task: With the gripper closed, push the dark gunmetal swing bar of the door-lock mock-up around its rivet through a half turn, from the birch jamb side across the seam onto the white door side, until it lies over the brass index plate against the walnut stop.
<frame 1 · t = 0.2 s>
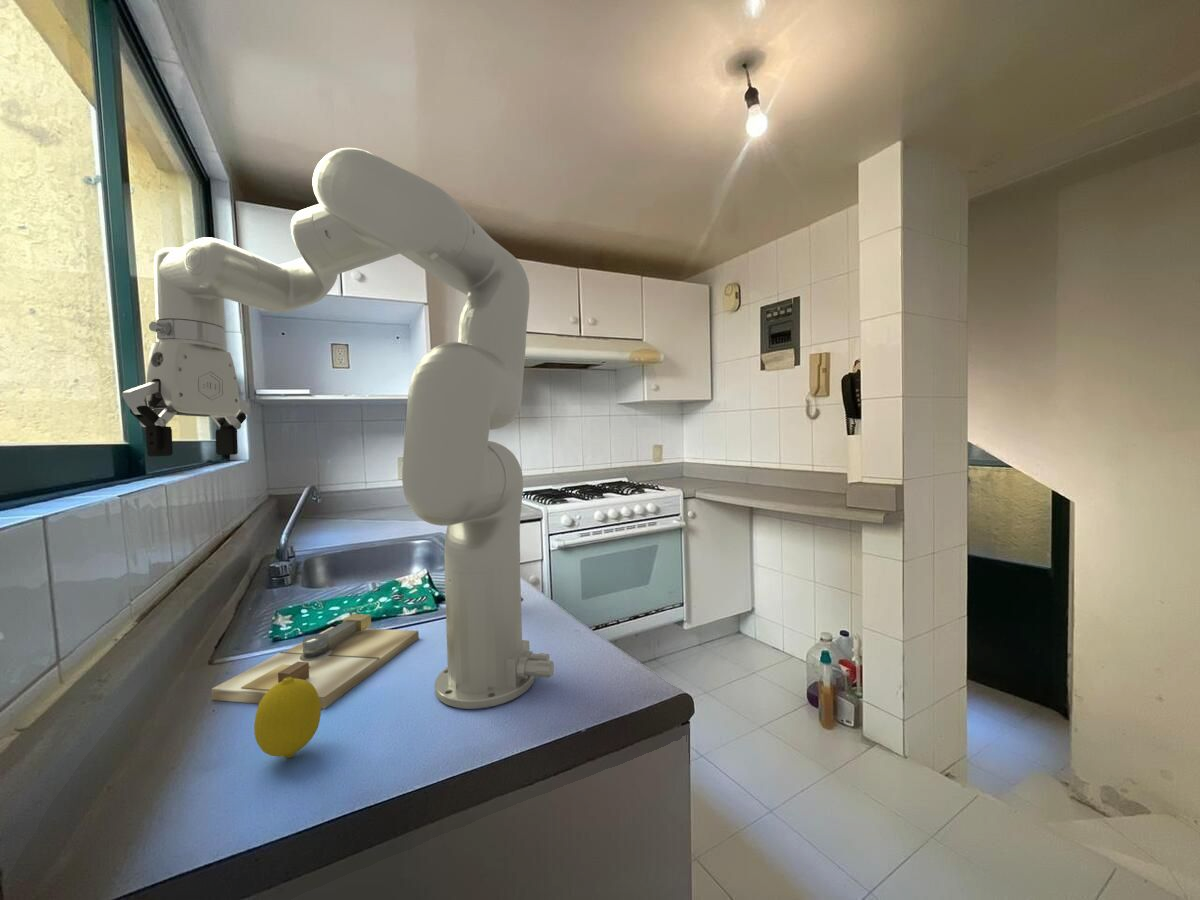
hand: (196, 455, 67), 31 cm above the worktop, fingers open, 9 cm apart
lock bar: (336, 633, 70), point 3 cm above the worktop, hinge at 0.0°
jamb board: (328, 665, 65), on the worktop
lemon: (290, 758, 46), on the worktop
bottle: (469, 613, 85), on the worktop
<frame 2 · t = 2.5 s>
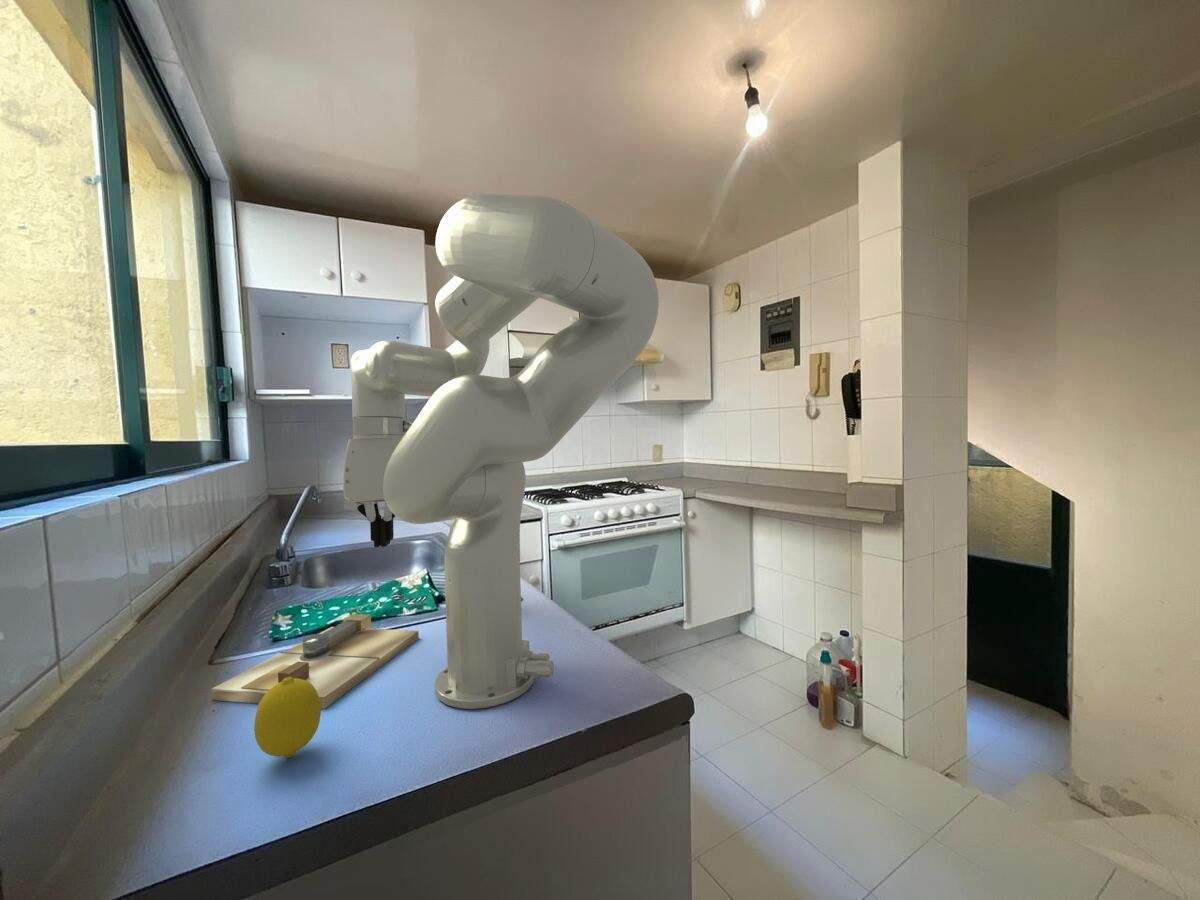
hand: (382, 544, 72), 16 cm above the worktop, fingers closed
nothing on the worktop moved.
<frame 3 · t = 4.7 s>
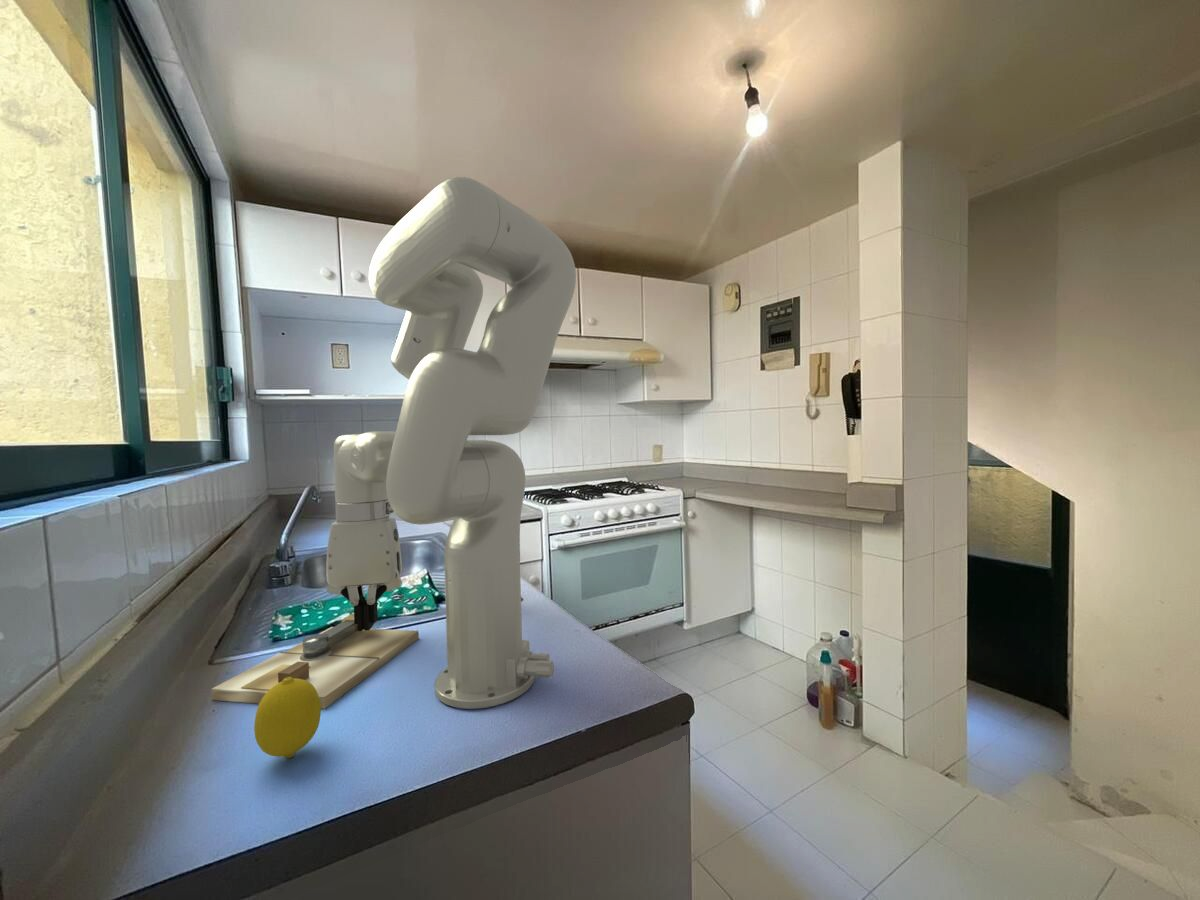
hand: (366, 627, 72), 3 cm above the worktop, fingers closed
lock bar: (336, 633, 70), point 3 cm above the worktop, hinge at 1.8°, touching gripper
everything else where it was.
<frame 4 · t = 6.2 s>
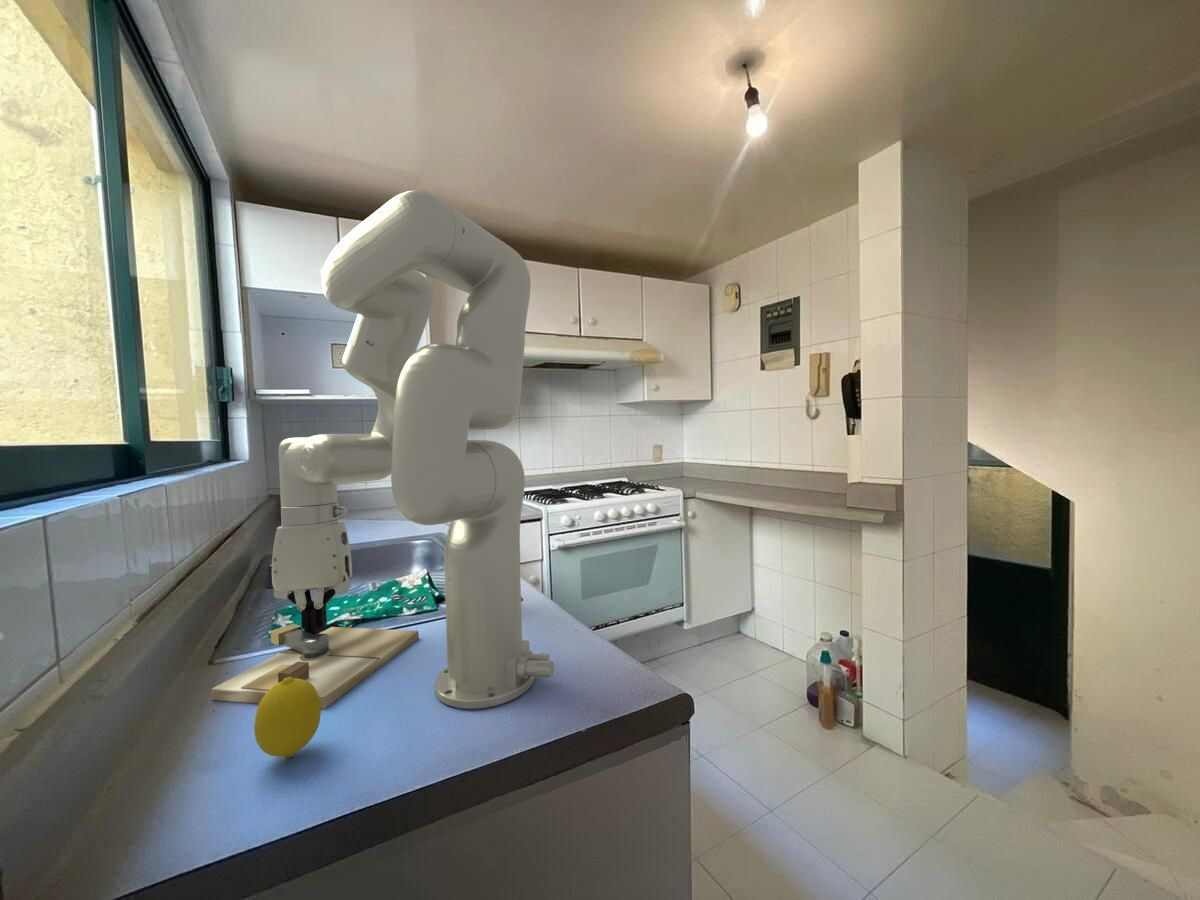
hand: (314, 631, 71), 2 cm above the worktop, fingers closed
lock bar: (301, 639, 68), point 3 cm above the worktop, hinge at 68.8°
everything else where it was.
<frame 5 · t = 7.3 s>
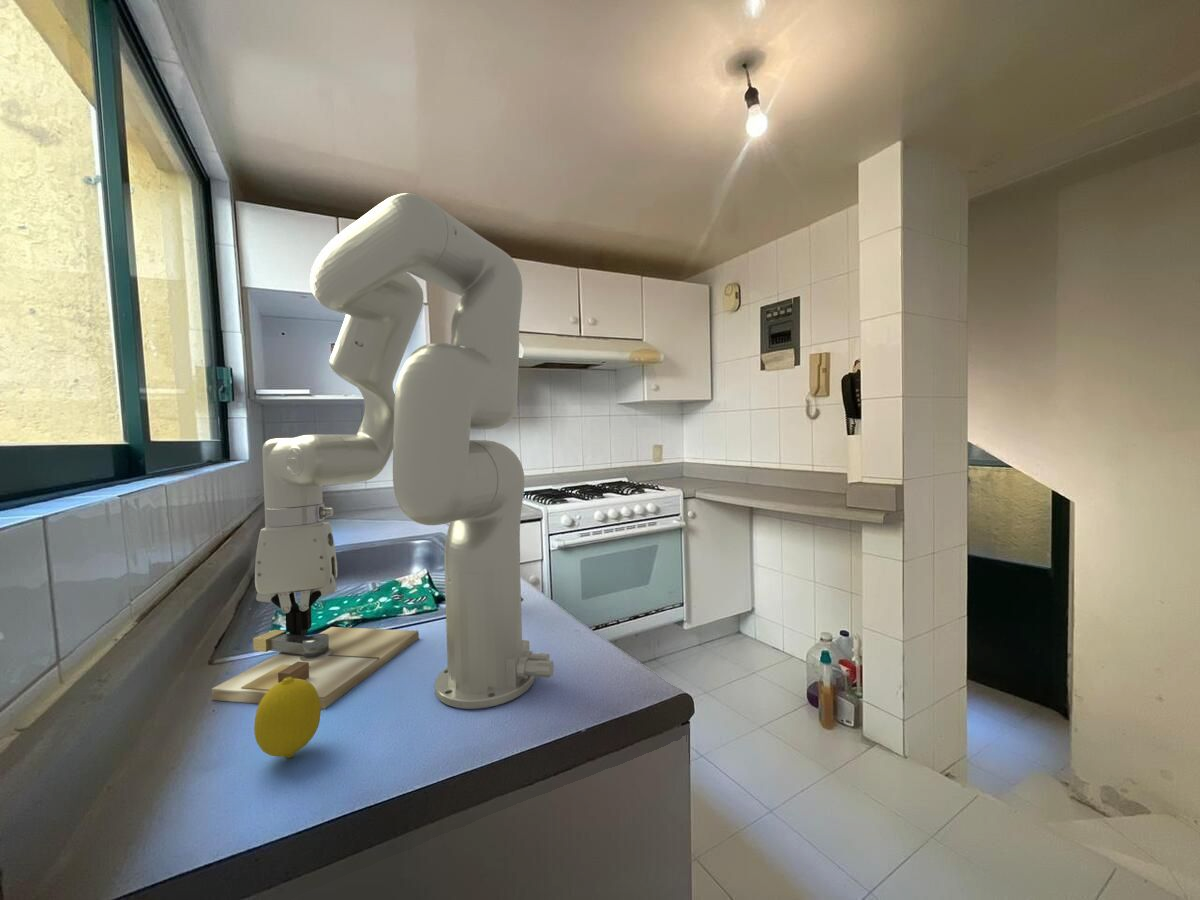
hand: (299, 634, 71), 2 cm above the worktop, fingers closed
lock bar: (293, 642, 67), point 3 cm above the worktop, hinge at 84.4°, touching gripper
everything else where it was.
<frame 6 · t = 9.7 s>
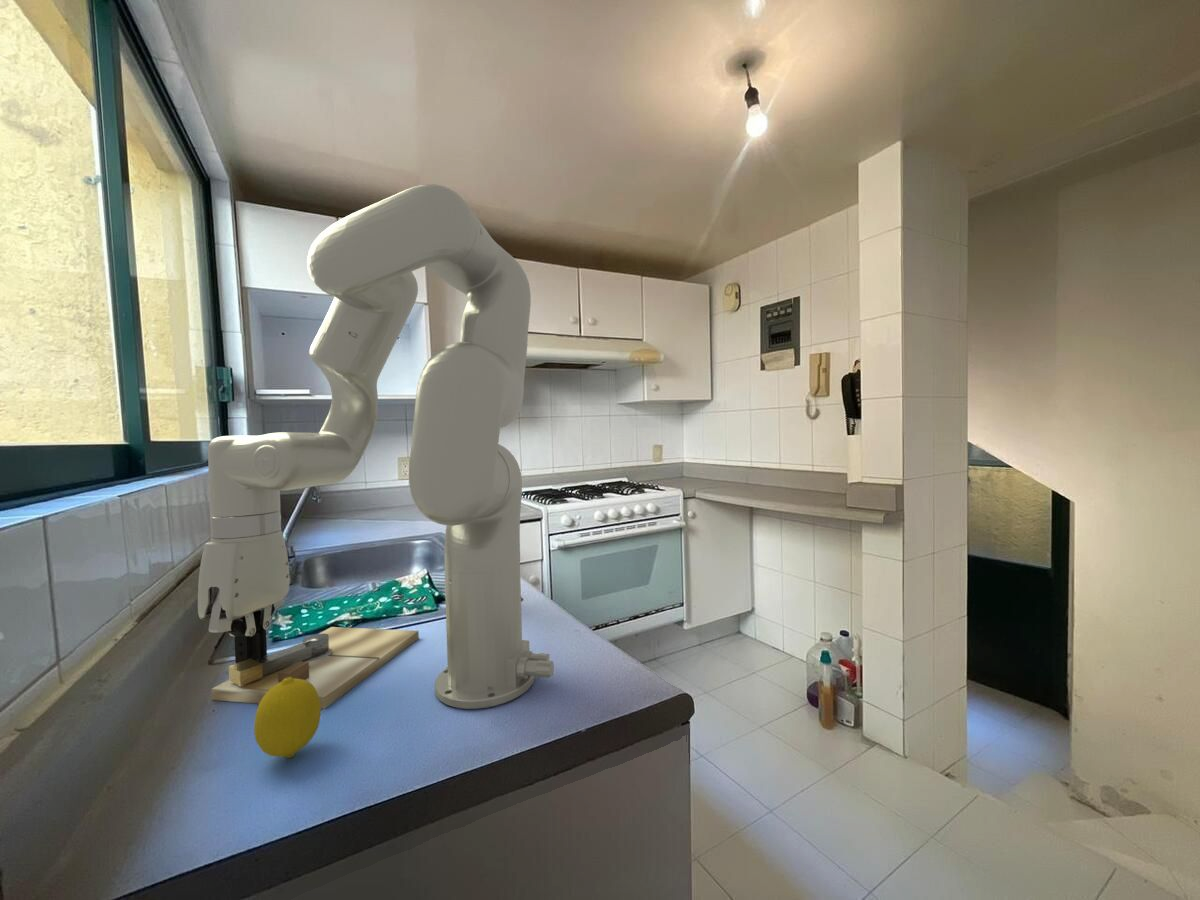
hand: (251, 661, 62), 3 cm above the worktop, fingers closed
lock bar: (284, 656, 62), point 3 cm above the worktop, hinge at 158.9°, touching gripper
everything else where it was.
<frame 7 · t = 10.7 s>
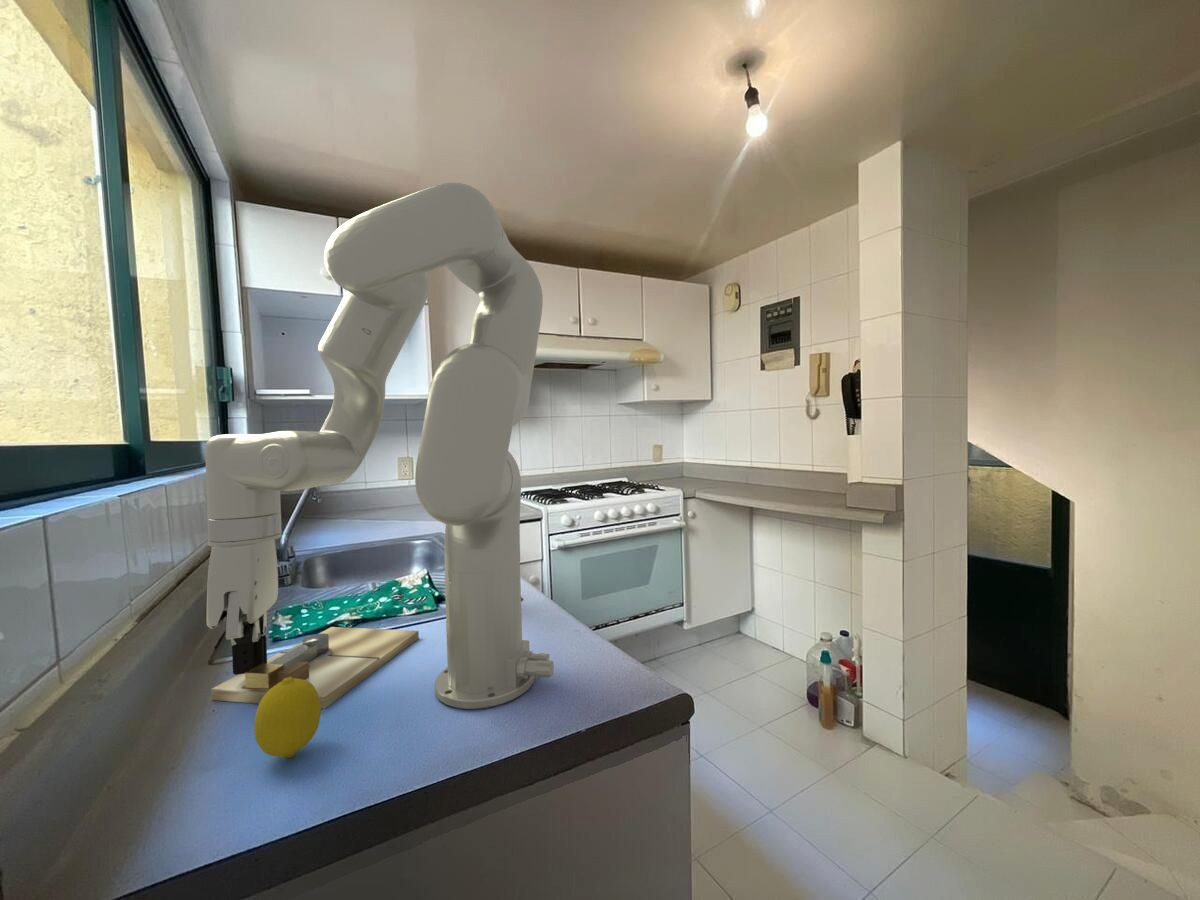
hand: (250, 669, 59), 3 cm above the worktop, fingers closed
lock bar: (293, 658, 62), point 3 cm above the worktop, hinge at 182.5°, touching gripper
everything else where it was.
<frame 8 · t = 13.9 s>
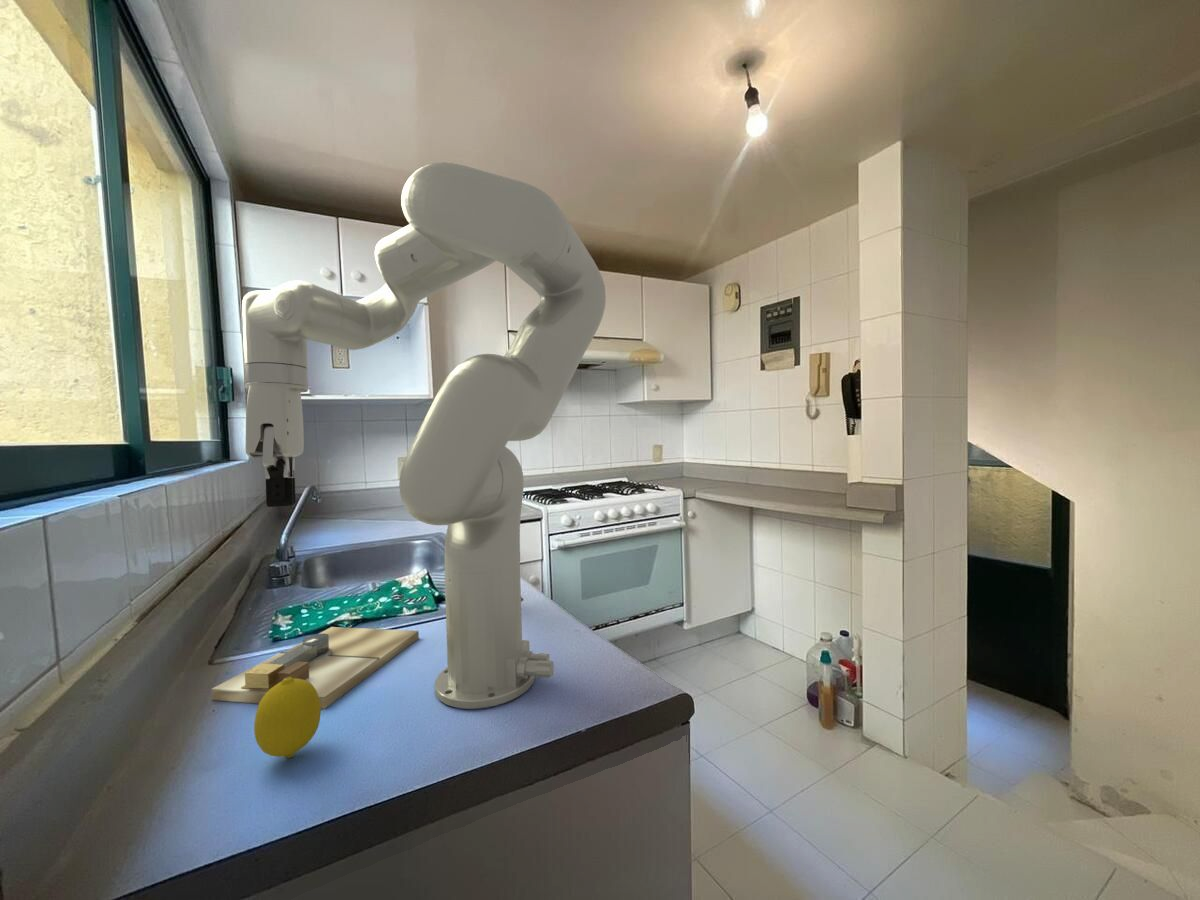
hand: (281, 505, 66), 23 cm above the worktop, fingers closed
lock bar: (293, 658, 62), point 3 cm above the worktop, hinge at 182.5°
everything else where it was.
at the end: lock bar at +182° (first picture: +0°) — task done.
